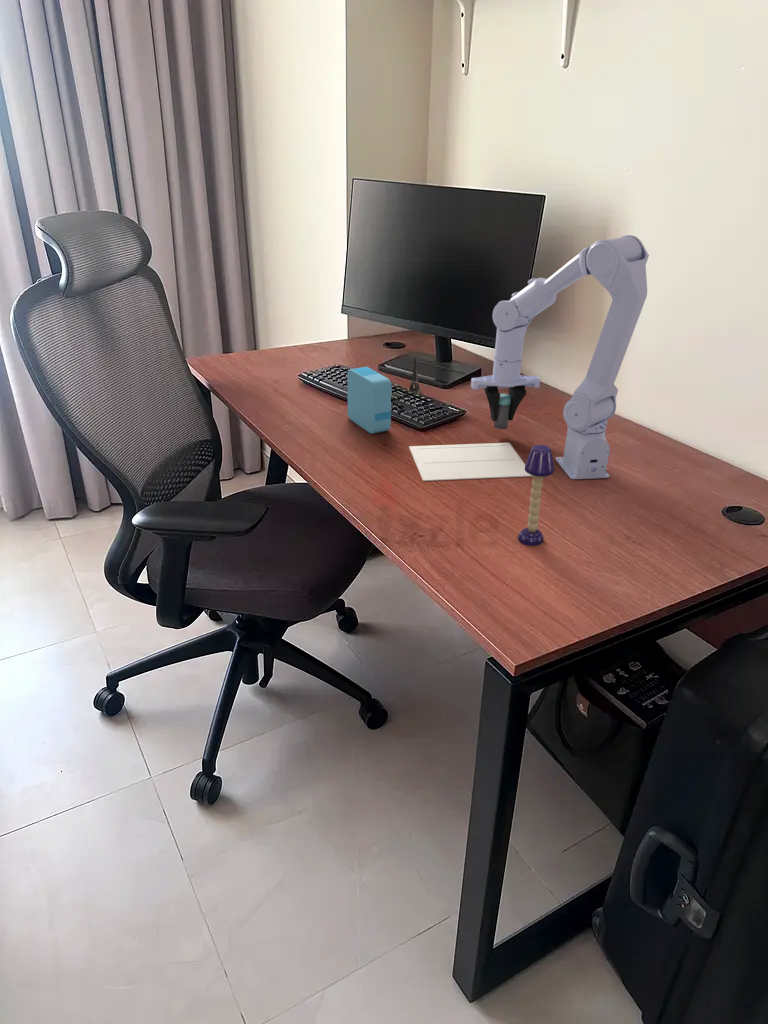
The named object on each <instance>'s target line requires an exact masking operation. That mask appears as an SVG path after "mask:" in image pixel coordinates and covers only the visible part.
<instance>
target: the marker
mask: <svg viewBox="0 0 768 1024" xmlns="http://www.w3.org/2000/svg"><path fill="white" fill-rule="evenodd" d="M511 398H512V396H511V395H509V393H500V399H499V403H498V411H497V420H496V421H493V424H494V425H493V427H494V428H495V429H498V430H507V429H508V427H509V421H510V420H509V412H510V404H511Z"/></svg>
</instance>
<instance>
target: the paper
mask: <svg viewBox="0 0 768 1024" xmlns="http://www.w3.org/2000/svg"><path fill="white" fill-rule="evenodd" d="M408 449H409V450H410V453H411V456H412V458H413V461H414V462H415V465H416V468H417V470H418V472H419V475H420V478H421V479H422V482H427V481H428V482H430V481H431V482H432V481H434V482H435V481H450V480H451V481H453V480H476V479H478V480H479V479H498V478H499V479H503V478H523V477H533V475H530V474H528V473H527V472H526V471H525V465H526V463H524V461H523V460H522V458H521V456H520V455H519V454H518V453H517V452H516V450H515V448H514V447H513V445H512V444H511V443H510V442H495V443H494V442H491V443H467V444H466V443H465V444H462V443H461V444H441V445H439V444H437V445H436V444H435V445H433V444H432V445H413V446H412V445H410V446H408Z"/></svg>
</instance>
